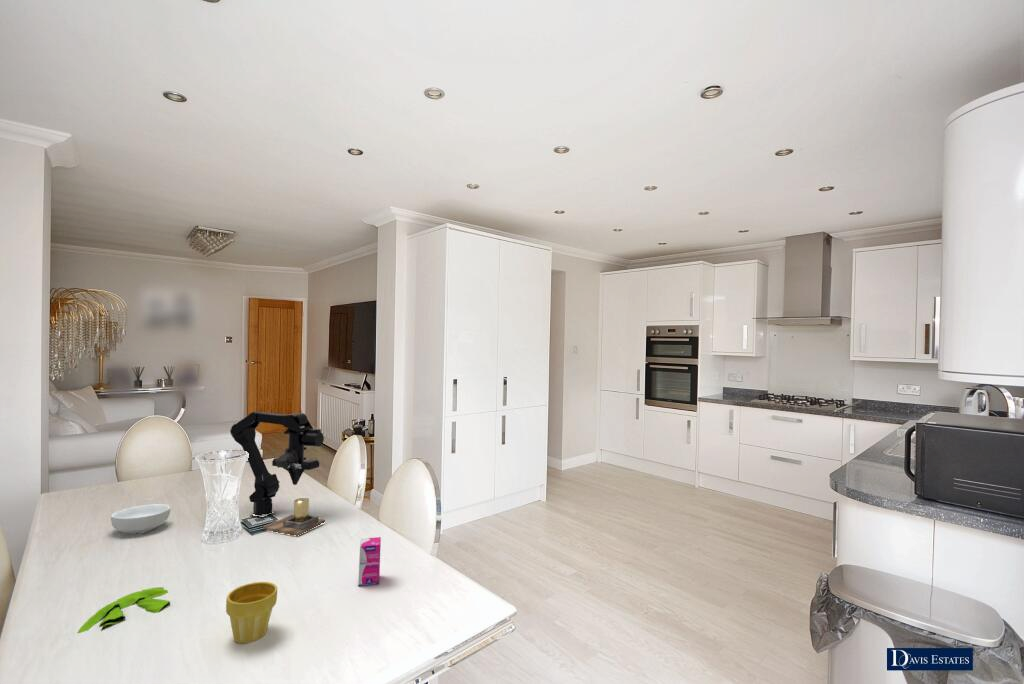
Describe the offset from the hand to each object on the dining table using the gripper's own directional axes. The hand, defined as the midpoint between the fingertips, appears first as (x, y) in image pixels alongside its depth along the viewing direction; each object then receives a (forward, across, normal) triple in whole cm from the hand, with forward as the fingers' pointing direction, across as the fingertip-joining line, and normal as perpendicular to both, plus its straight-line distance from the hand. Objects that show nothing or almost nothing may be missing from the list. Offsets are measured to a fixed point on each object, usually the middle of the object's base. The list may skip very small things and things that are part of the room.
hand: (295, 484), depth 183 cm
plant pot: (+13, +49, -64) cm, 82 cm away
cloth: (+14, +13, -67) cm, 70 cm away
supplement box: (+13, +59, -33) cm, 69 cm away
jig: (+13, +8, -8) cm, 17 cm away
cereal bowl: (+13, -41, -30) cm, 53 cm away
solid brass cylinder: (+12, +11, -8) cm, 18 cm away
